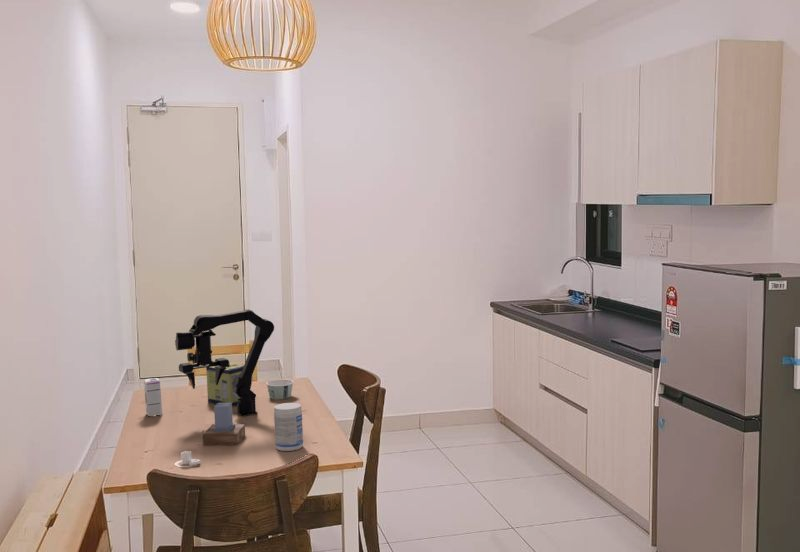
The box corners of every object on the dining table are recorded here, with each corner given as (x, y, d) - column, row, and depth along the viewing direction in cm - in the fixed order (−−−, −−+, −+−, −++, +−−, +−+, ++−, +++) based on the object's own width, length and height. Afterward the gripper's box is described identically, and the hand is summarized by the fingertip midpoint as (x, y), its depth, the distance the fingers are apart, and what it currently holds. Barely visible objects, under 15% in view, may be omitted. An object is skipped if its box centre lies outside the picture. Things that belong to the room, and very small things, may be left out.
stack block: (212, 435, 277) (212, 424, 276) (245, 434, 276) (244, 424, 276) (203, 445, 265) (202, 434, 265) (236, 445, 264) (236, 434, 264)
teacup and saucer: (203, 466, 245) (203, 453, 245) (179, 471, 241) (178, 458, 240) (195, 458, 252) (194, 446, 252) (171, 463, 248) (170, 451, 248)
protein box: (225, 396, 333) (224, 361, 332) (250, 401, 324) (248, 365, 323) (207, 401, 325) (205, 366, 323) (231, 406, 316) (230, 370, 314)
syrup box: (162, 415, 305) (160, 380, 303) (147, 417, 302) (145, 381, 301) (160, 411, 310) (158, 377, 309) (145, 413, 307) (143, 378, 306)
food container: (299, 396, 331) (299, 381, 330) (278, 402, 322) (277, 387, 321) (282, 392, 339) (281, 377, 338) (260, 397, 330) (260, 383, 329)
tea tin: (217, 426, 274) (216, 402, 273) (235, 426, 273) (234, 402, 272) (212, 431, 267) (211, 407, 266) (230, 431, 267) (229, 406, 266)
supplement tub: (304, 450, 257) (303, 408, 256) (276, 453, 255) (274, 410, 253) (301, 442, 266) (300, 401, 265) (274, 444, 264) (272, 403, 263)
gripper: (219, 342, 307) (220, 379, 308) (173, 347, 297) (175, 386, 298) (229, 346, 298) (230, 384, 299) (182, 351, 287) (184, 392, 289)
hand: (205, 386), depth 297 cm, fingers open, 9 cm apart
